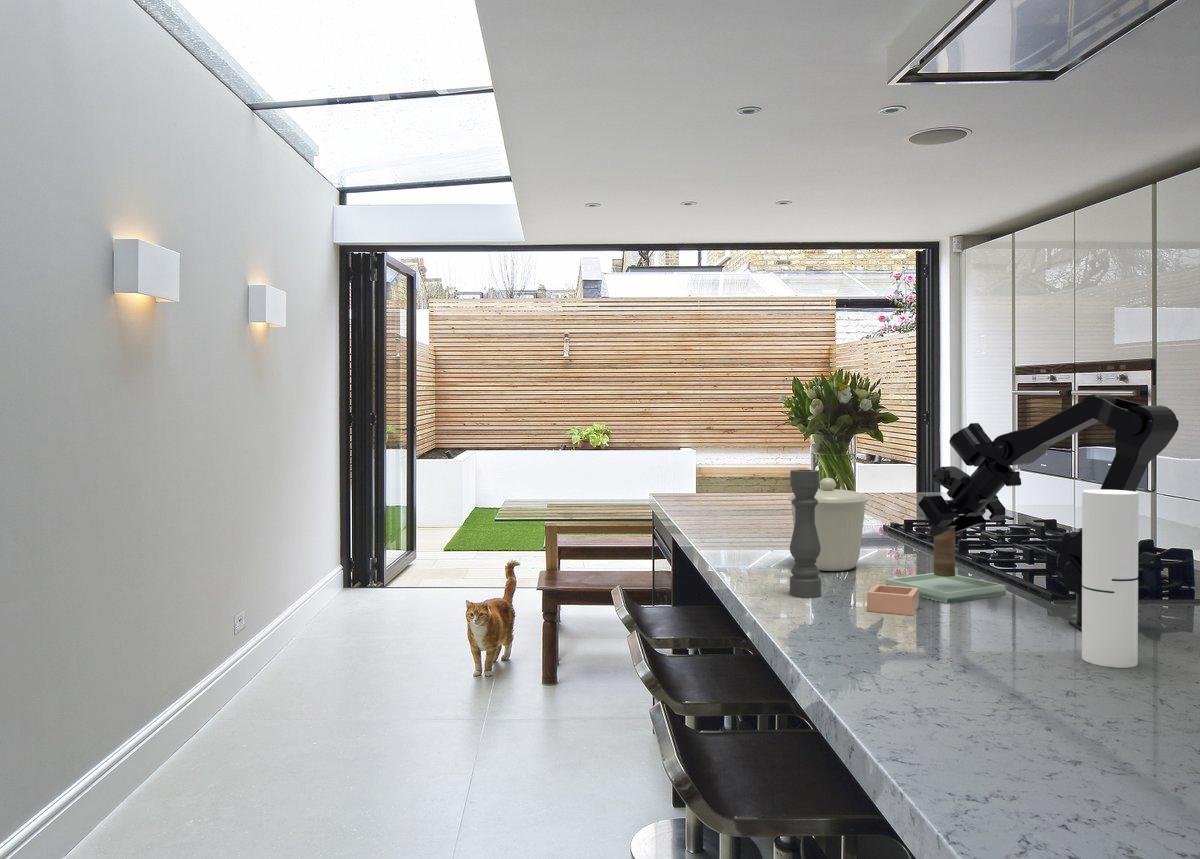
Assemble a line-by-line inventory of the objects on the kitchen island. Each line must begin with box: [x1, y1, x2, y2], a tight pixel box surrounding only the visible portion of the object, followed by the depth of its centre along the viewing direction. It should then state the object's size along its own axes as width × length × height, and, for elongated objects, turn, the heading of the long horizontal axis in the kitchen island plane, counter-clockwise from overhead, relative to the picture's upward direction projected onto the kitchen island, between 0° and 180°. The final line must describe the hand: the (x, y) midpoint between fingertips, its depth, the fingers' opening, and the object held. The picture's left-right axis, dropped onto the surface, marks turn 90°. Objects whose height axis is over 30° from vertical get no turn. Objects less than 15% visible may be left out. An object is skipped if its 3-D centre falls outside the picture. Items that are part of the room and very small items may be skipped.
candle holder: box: [789, 469, 822, 599], centre depth 177 cm, size 6×6×25 cm
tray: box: [885, 572, 1007, 605], centre depth 178 cm, size 16×16×2 cm
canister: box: [788, 477, 869, 572], centre depth 205 cm, size 18×18×21 cm
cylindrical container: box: [1081, 489, 1140, 669], centre depth 129 cm, size 7×7×25 cm
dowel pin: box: [933, 499, 956, 577], centre depth 178 cm, size 4×4×15 cm
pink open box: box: [866, 584, 920, 616], centre depth 164 cm, size 8×8×4 cm
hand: (939, 534), depth 179 cm, fingers closed on dowel pin, 4 cm apart
